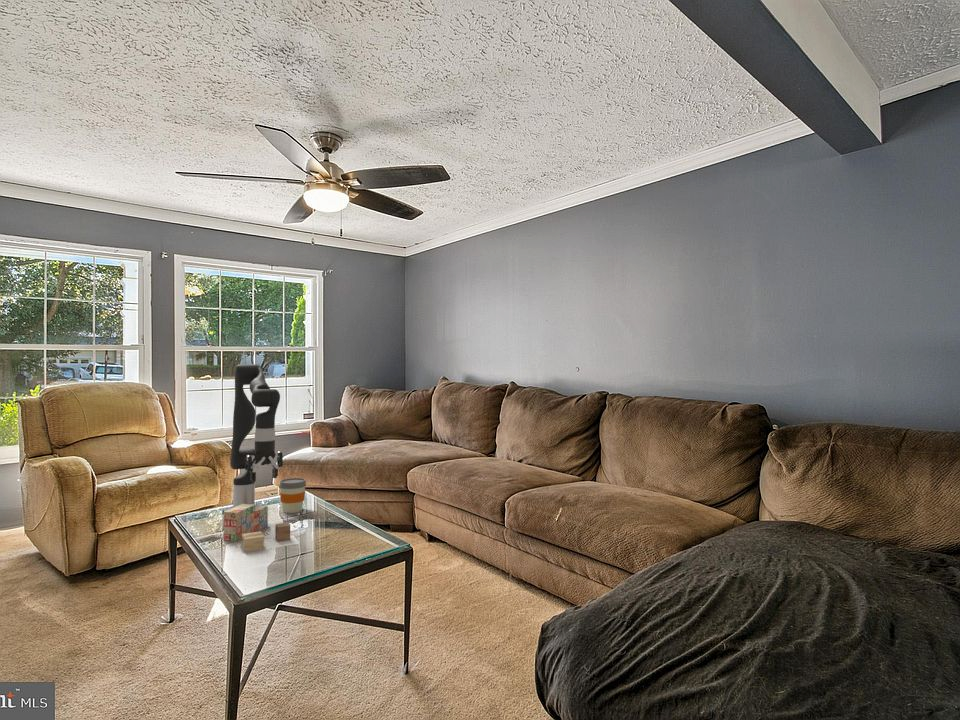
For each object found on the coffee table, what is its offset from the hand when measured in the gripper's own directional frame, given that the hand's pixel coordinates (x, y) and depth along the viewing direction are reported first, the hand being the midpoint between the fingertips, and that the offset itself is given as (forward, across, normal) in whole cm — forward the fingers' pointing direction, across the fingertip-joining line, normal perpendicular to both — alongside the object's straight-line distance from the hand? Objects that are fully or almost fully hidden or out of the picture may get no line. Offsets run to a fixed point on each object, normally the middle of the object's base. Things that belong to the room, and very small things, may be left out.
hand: (264, 479), depth 202 cm
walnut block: (+26, -9, -2) cm, 28 cm away
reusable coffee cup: (+28, -34, -40) cm, 60 cm away
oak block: (+26, +4, -1) cm, 27 cm away
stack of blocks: (+27, -3, -22) cm, 35 cm away
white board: (+27, -3, -1) cm, 27 cm away
